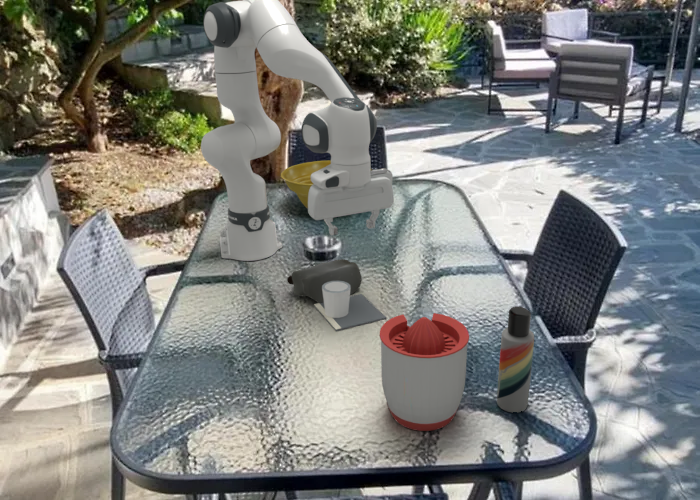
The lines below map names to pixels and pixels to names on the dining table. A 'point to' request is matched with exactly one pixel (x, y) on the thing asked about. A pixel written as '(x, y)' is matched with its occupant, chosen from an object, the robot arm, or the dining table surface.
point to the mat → (353, 313)
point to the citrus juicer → (423, 370)
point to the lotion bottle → (515, 361)
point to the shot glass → (336, 298)
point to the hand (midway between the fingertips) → (352, 231)
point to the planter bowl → (302, 178)
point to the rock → (324, 278)
